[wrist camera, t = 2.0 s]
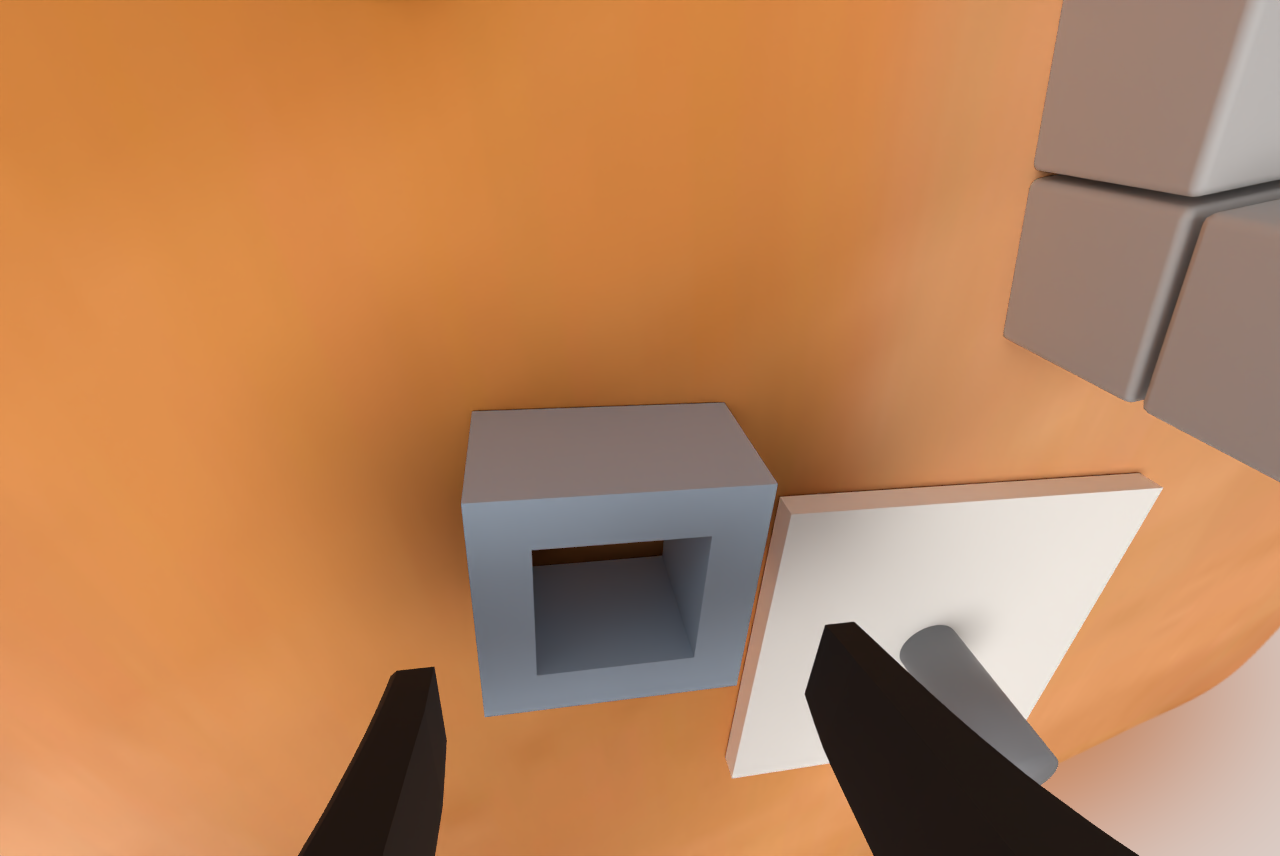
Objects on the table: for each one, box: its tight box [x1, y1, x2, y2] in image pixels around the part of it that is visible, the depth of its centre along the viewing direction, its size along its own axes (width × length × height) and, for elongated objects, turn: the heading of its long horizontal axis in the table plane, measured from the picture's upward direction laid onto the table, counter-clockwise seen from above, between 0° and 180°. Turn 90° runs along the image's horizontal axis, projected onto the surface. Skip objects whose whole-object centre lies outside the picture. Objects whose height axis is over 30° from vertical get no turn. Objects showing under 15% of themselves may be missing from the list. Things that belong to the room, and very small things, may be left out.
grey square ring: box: [461, 403, 778, 717], centre depth 14 cm, size 6×6×4 cm
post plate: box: [725, 473, 1163, 785], centre depth 18 cm, size 12×12×5 cm
